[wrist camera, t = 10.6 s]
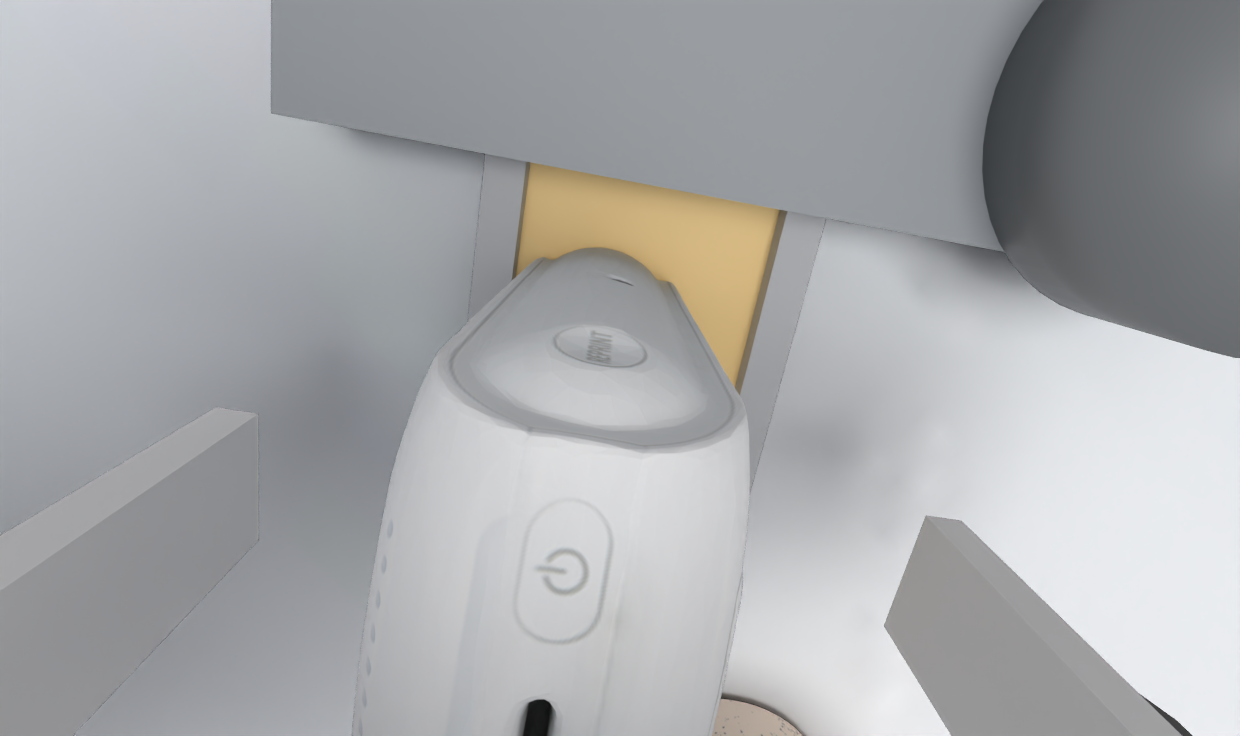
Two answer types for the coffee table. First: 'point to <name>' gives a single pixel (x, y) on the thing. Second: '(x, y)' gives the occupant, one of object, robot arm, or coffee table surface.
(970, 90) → the deck
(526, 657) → the photo printer
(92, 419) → the coffee table surface
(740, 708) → the teacup with lid
